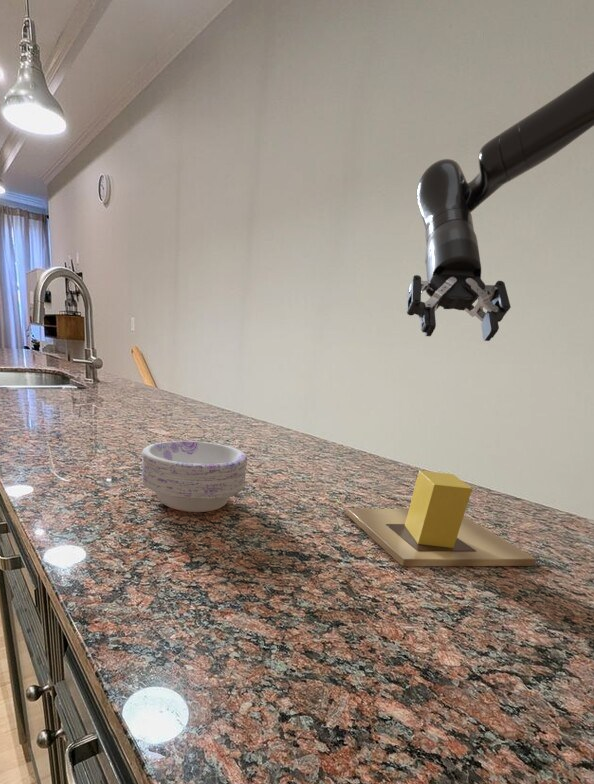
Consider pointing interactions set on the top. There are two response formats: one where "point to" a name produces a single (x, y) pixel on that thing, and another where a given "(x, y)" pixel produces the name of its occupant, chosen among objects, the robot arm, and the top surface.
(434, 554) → the board
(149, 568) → the top surface
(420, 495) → the yellow block
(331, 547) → the top surface
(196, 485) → the paper bowls
